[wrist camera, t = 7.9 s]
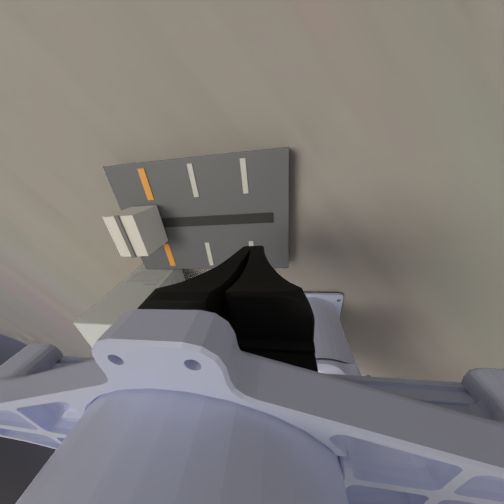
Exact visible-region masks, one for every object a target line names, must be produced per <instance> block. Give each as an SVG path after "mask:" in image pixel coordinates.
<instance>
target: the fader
mask: <svg viewBox="0 0 504 504" xmlns="http://www.w3.org/2000/svg"><path fill="white" fill-rule="evenodd" d="M102 218H103V220H104V222H105V224H106V226H107V228H108V230H109V232H110V234H111V236H112V238H113V241H114V243H115V245H116V247H117V249H118V251H119V253H120V255H121V256H132V257H137V256H149V255H150V254H152V253H153V252H154V251H156V250H157V249H158V248H159V247H161V246H162V245H163V244H164V243H166V242H167V241H168V238H167V235H166V232H165V229H164V226H163V223H162V220H161V217H160V214H159V211H158V208H157V205H152V206H137V207H129V208H126V209H124V210H121V211H118V212H115V213H112V214H109V215H107V216H104V217H102Z"/></svg>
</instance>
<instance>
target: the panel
mask: <svg viewBox="0 0 504 504" xmlns="http://www.w3.org/2000/svg"><path fill="white" fill-rule="evenodd" d="M103 168H104V171H105V173H106V175H107V178H108V180H109V182H110V185H111V187H112V190H113V192H114V194H115V197H116V199H117V201H118V204H119V206H120V208H121V210H124V209H126V208H129V207H137V206H152V205H157V208H158V211H159V214H160V217H161V220H162V223H163V226H164V229H165V232H166V235H167V238H168V241H167V242H166V243H164V244H163V245H162V246H161V247H159V248H158V249H157V250H156V251H154V252H153V253H152V254H150V255H149V256H141V258H142V261H143V263H144V265H145V268H146V269H213V268H215V267H216V266H218V265H220V264H221V263H223V262H224V261H225V260H227V259H228V258H230V257H231V256H232V255H233V254H235V253H236V252H237V251H238V250H240V249H241V248H242V247H244V246H263V247H264V251H265V255H266V258H267V260H268V261H269V263H270V265H271V266H272V267H273V268H288V267H289V147H282V148H272V149H263V150H254V151H244V152H235V153H225V154H216V155H207V156H197V157H188V158H179V159H169V160H160V161H150V162H141V163H132V164H122V165H113V166H104V167H103Z"/></svg>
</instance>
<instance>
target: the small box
mask: <svg viewBox="0 0 504 504" xmlns="http://www.w3.org/2000/svg"><path fill="white" fill-rule="evenodd" d="M182 281H186V280H185V276H184V273H183V270H182V269H146V268H145V265H144V263H143V264H142V265H141V266H140V267H138V268H137V269H136V270H135V271H134V272H133V273H131V274H130V275H129V276H128V277H127V278H125V279H124V280H123V281H122V282H121V283H119V284H118V285H117V286H116V287H115V288H114V289H112V290H111V291H110V292H109V293H108V294H106V295H105V296H104V297H103V298H102V299H100V300H99V301H98V302H97V303H96V304H94V305H93V306H92V307H91V308H90V309H89V310H87V311H86V312H85V313H84V314H83V315H82V316H80V317H79V318H78V319H77V320H76V321H75V322H74V323H73V324H74V325H75V326H76V327H77V329H78V330H79V331H80V332H81V334H82V335H83V336H84V338H85V339H86V340H87V342H88V343H89V344H90V346H91V347H93V346H94V344H95V342H96V341H97V340H98V339H99V338H100V337H101V336H102V334H103V333H104V332H105V331H106V330H107V329H108V328H109V327H110V326H111V325H112V324H113V323H114V322H115V321H116V320H117V319H118V318H119V317H120V316H121V315H122V314H123V313H124V312H126V311H131V310H135V309H138V307H139V306H140V305H141V304H142V303H143V302H144V300H145V299H146V298H147V297H148V296H149V295H150V294H151V293H152V292H153V291H154V290H155V289H156V288H160V287H164V286H168V285H172V284H176V283H179V282H182Z"/></svg>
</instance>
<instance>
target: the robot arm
mask: <svg viewBox="0 0 504 504" xmlns="http://www.w3.org/2000/svg"><path fill="white" fill-rule="evenodd" d="M338 299H340V300H338ZM342 302H343V295H342V294H341V293H306V292H304V291H303V290H302V288H300V287H298V286H296V285H294V284H292V283H290V282H288V281H287V280H285V279H284V278H282V277H281V276H280V275H279V274H278V273H277V272H276V271H275V270H274V269H273V267H272V266H271V265H270V263H269V261H268V260H267V258H266V255H265V251H264V247H263V246H244V247H242V248H241V249H240V250H238V251H237V252H236V253H235V254H233V255H232V256H231V257H230V258H228V259H227V260H225V261H224V262H223V263H221V264H220V265H218V266H216V267H215V268H213V269H211V270H209V271H207V272H205V273H203V274H201V275H198V276H196V277H194V278H191V279H188V280H186V281H182V282H179V283H176V284H172V285H168V286H164V287H160V288H156V289H155V290H154V291H153V292H152V293H151V294H150V295H149V296H148V297H147V298H146V299H145V300H144V302H143V303H142V304H141V305H140V306H139V307H138V309H135V310H131V311H126V312H124V313H123V314H122V315H121V316H120V317H119V318H118V319H117V320H116V321H115V322H114V323H113V324H112V325H111V326H110V327H109V328H108V329H107V330H106V331H105V332H104V333H103V334H102V336H101V337H100V338H99V339H98V340H97V341H96V342H95V344H94V346H93V347H92V354H93V357H94V358H87V357H72V356H63V354H62V352H61V351H60V350H59V349H58V348H57V347H56V346H54V345H51V344H40V343H30V344H29V345H27V346H26V347H25V348H23V349H22V350H21V351H19V352H18V353H17V354H15V355H14V356H13V357H11V358H10V359H9V360H7V361H6V362H5V363H4V364H2V365H1V366H0V437H6V438H11V439H16V440H22V441H26V442H30V443H34V444H38V445H42V446H46V447H50V448H53V449H56V451H55V452H54V454H53V455H52V456H51V457H50V459H49V460H48V461H47V463H46V464H45V465H44V467H43V468H42V469H41V471H40V472H39V473H38V475H37V476H36V477H35V478H34V480H33V481H32V483H31V484H30V485H29V486H28V488H27V489H26V490H25V492H24V493H23V494H22V496H21V497H20V499H19V500H18V501H17V502H16V504H504V369H492V368H476V369H473V370H470V371H468V372H467V373H466V374H465V375H464V377H463V380H462V382H461V383H457V382H442V381H428V380H413V379H398V378H383V377H371V376H370V375H367V376H361V374H360V371H359V369H358V366H357V364H356V363H355V360H354V358H353V355H352V352H351V349H350V347H349V344H348V341H347V339H346V336H345V333H344V331H343V328H342V325H341V322H340V320H339V318H340V313H341V307H342Z"/></svg>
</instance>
